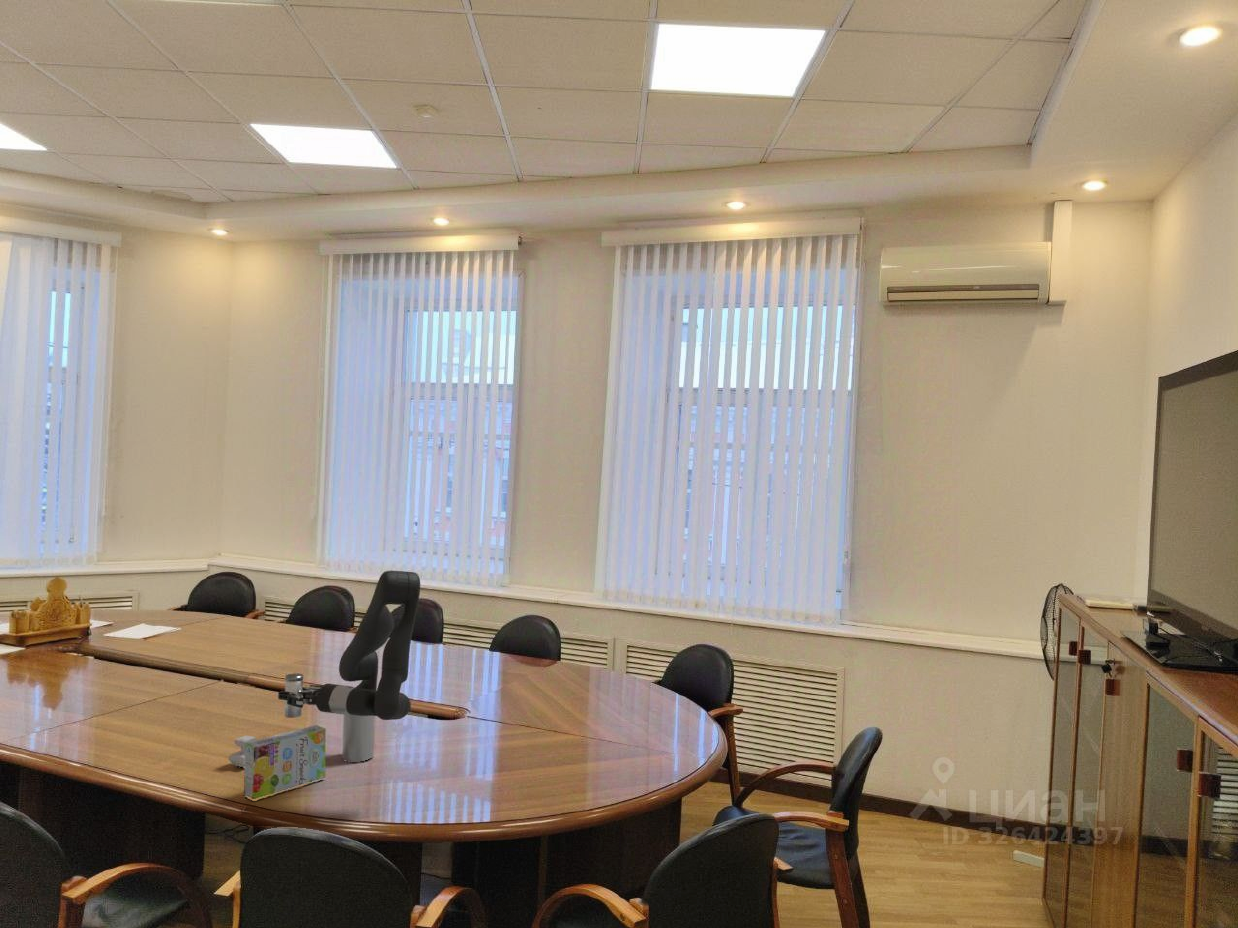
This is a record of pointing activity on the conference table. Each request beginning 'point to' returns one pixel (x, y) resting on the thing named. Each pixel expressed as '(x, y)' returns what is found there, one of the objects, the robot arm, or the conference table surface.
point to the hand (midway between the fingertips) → (285, 692)
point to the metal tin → (293, 685)
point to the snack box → (284, 761)
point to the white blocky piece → (239, 757)
